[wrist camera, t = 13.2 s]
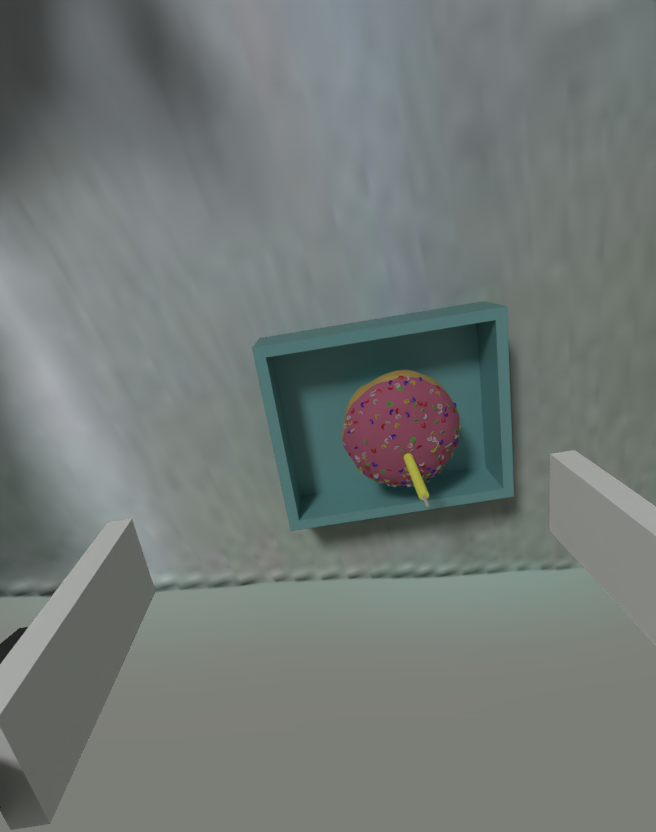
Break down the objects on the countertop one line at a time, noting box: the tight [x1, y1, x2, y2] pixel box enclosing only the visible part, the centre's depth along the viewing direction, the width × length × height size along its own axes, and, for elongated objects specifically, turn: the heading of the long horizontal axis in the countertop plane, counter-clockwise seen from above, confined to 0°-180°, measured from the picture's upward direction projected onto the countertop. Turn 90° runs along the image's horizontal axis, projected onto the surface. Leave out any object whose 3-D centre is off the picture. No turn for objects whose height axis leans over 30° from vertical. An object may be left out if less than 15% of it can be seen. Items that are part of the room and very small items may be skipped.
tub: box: [252, 302, 514, 531], centre depth 36 cm, size 18×15×4 cm
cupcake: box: [342, 370, 461, 508], centre depth 32 cm, size 9×8×12 cm
